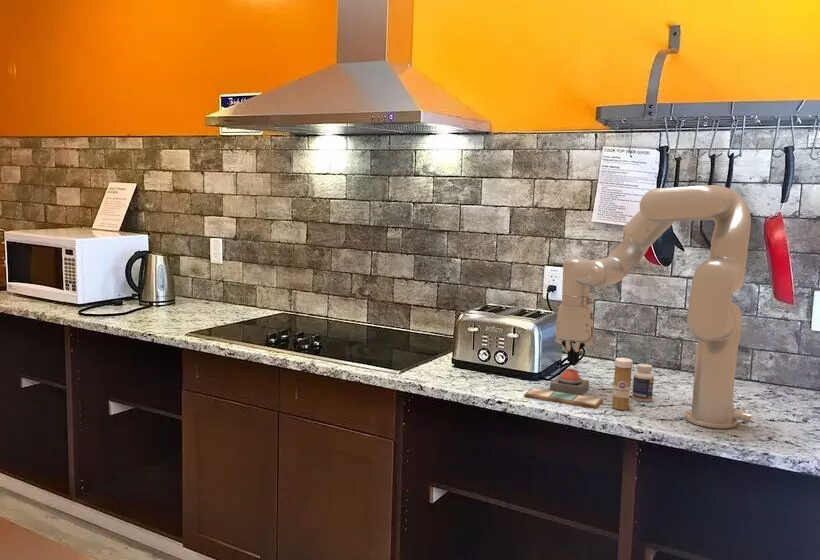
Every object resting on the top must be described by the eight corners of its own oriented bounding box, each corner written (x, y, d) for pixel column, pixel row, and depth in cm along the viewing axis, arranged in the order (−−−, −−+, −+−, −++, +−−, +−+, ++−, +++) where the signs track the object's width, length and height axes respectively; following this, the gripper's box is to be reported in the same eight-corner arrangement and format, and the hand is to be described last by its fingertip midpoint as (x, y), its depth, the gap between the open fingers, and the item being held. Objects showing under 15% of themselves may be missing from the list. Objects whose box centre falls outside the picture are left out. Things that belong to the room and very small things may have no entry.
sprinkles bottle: (614, 410, 200) (617, 360, 198) (609, 405, 205) (613, 356, 203) (631, 410, 200) (634, 361, 198) (626, 405, 205) (630, 357, 203)
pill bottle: (651, 403, 208) (653, 368, 207) (630, 400, 210) (633, 366, 209) (653, 398, 213) (655, 364, 212) (633, 395, 215) (635, 362, 214)
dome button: (584, 387, 219) (585, 368, 219) (578, 392, 213) (579, 373, 213) (561, 383, 223) (562, 365, 222) (554, 388, 217) (555, 369, 216)
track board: (602, 401, 208) (603, 398, 208) (596, 408, 201) (596, 405, 201) (533, 390, 217) (533, 387, 217) (524, 397, 210) (524, 393, 210)
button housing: (588, 389, 220) (589, 380, 220) (580, 396, 212) (581, 387, 212) (558, 384, 224) (559, 375, 224) (549, 391, 216) (550, 382, 216)
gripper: (604, 301, 214) (602, 364, 217) (553, 297, 221) (551, 359, 223) (598, 305, 208) (596, 370, 210) (545, 301, 215) (543, 364, 217)
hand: (573, 364), depth 217 cm, fingers closed
